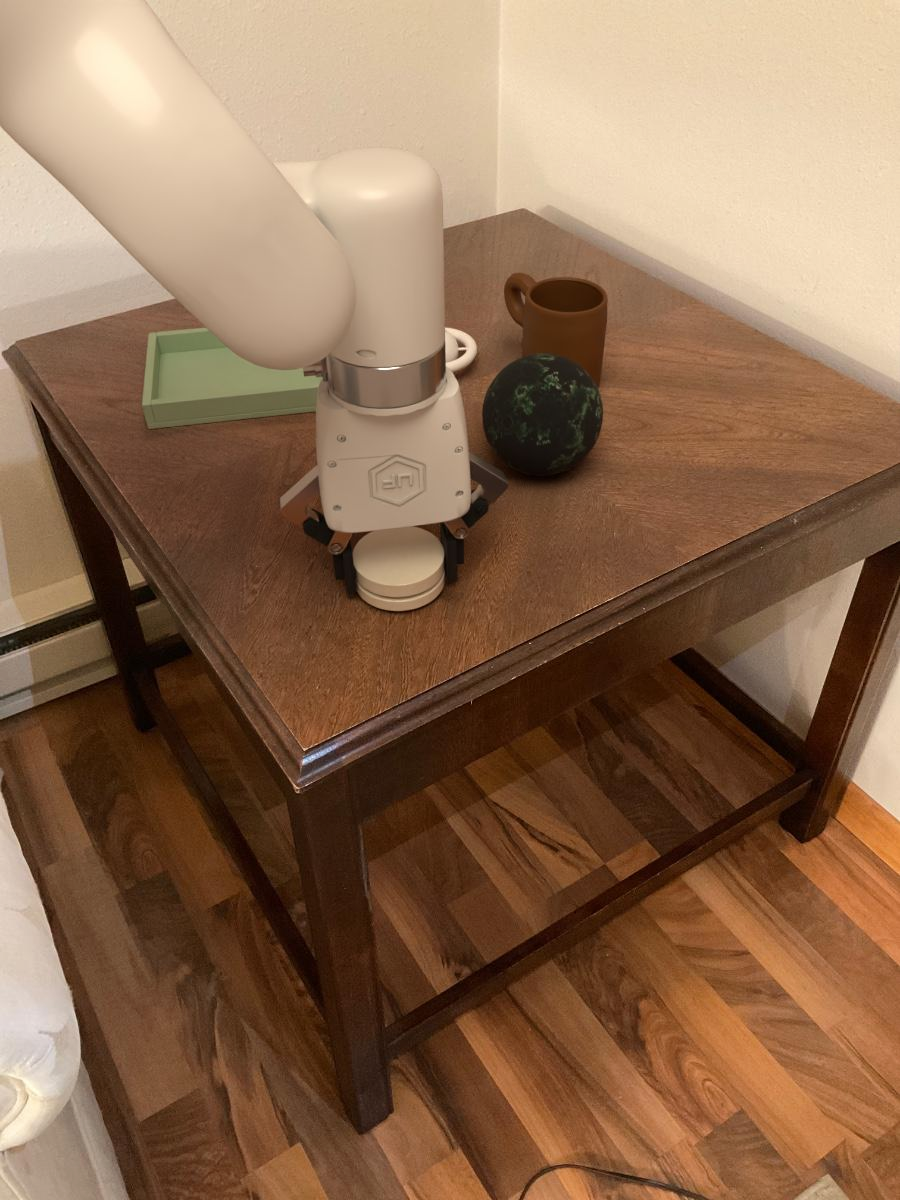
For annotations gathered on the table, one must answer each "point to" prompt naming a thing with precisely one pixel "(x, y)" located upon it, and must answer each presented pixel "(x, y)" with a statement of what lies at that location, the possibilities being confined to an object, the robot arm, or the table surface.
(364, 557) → the beige round container
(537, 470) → the decorative stone
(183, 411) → the tray
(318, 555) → the table surface
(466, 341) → the ring around a ball
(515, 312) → the mug
